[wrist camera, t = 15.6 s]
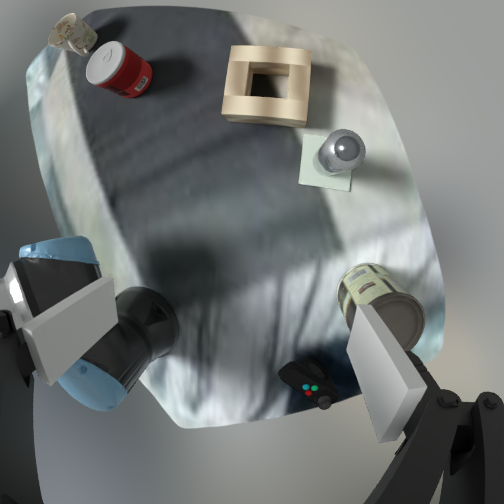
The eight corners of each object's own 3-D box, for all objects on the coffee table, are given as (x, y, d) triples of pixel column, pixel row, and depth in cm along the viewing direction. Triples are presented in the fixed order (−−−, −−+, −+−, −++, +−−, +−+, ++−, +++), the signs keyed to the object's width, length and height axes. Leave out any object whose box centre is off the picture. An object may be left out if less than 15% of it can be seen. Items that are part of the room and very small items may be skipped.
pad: (298, 183, 41) (298, 183, 40) (303, 134, 39) (304, 133, 38) (348, 191, 40) (349, 191, 40) (353, 142, 38) (354, 142, 38)
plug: (311, 173, 40) (324, 165, 25) (313, 146, 39) (328, 123, 24) (338, 178, 39) (366, 172, 25) (341, 150, 38) (369, 131, 24)
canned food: (155, 57, 38) (125, 34, 27) (153, 93, 40) (120, 74, 29) (121, 68, 39) (88, 50, 28) (118, 103, 41) (83, 89, 30)
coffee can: (368, 326, 45) (390, 373, 31) (324, 300, 45) (337, 345, 31) (402, 281, 42) (438, 316, 29) (359, 250, 42) (388, 279, 28)
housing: (228, 121, 40) (221, 114, 35) (237, 58, 37) (231, 45, 32) (304, 128, 39) (306, 120, 34) (309, 63, 36) (311, 50, 31)
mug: (96, 23, 36) (72, 7, 27) (111, 47, 38) (84, 30, 28) (71, 47, 38) (45, 35, 28) (84, 74, 40) (54, 62, 30)
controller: (322, 383, 49) (326, 418, 39) (276, 353, 48) (273, 387, 39) (337, 371, 48) (345, 405, 38) (292, 338, 47) (292, 372, 38)
